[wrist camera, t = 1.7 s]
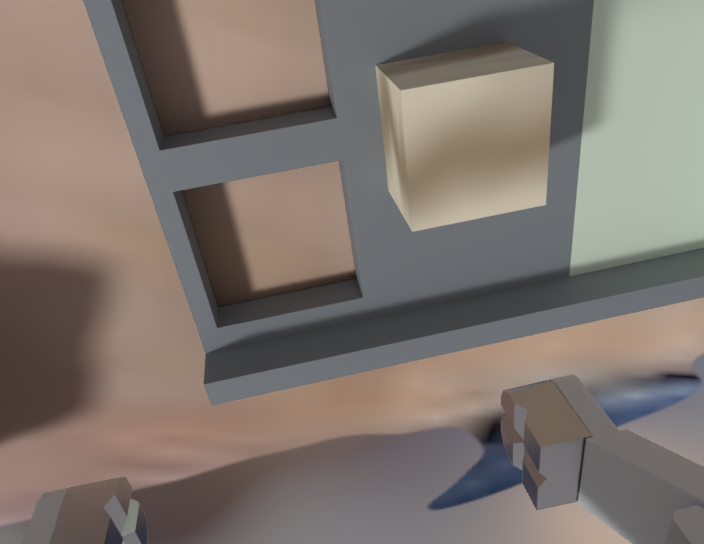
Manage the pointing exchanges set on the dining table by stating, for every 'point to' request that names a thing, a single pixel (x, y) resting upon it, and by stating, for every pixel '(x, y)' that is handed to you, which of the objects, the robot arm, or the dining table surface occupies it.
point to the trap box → (464, 237)
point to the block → (466, 133)
